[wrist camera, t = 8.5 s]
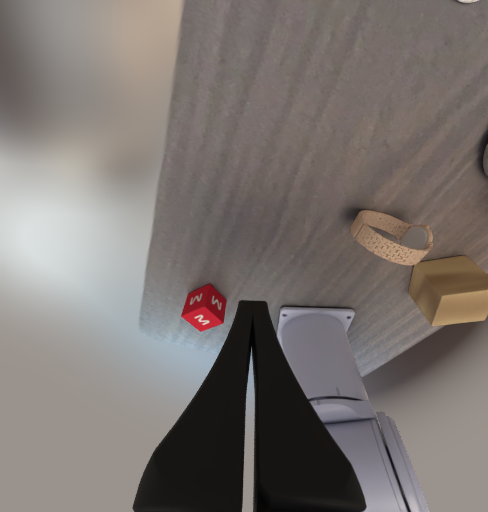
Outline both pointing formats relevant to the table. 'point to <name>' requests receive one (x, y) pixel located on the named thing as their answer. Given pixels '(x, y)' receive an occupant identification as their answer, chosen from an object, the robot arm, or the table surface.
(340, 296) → the table surface
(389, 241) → the tan wristwatch
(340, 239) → the table surface
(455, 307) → the birch block
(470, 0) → the game pieces
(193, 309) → the red letter cube
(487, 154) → the pocket watch
